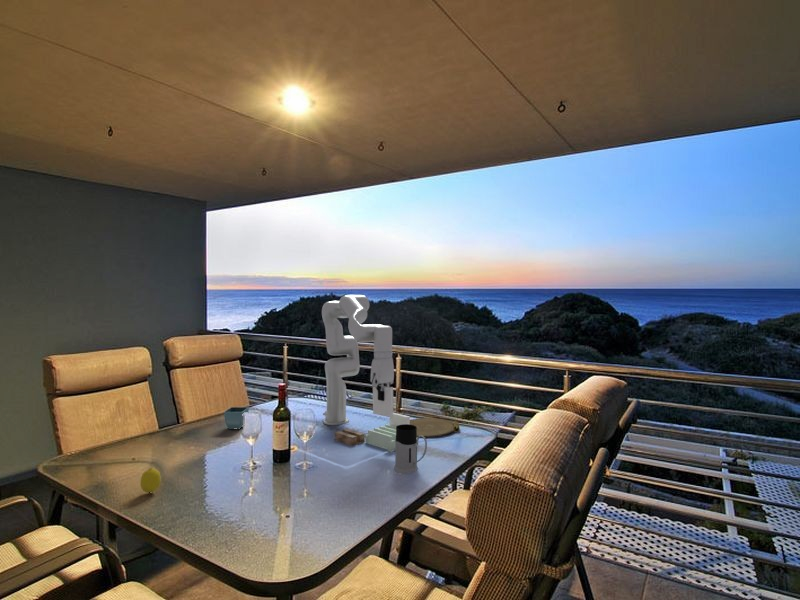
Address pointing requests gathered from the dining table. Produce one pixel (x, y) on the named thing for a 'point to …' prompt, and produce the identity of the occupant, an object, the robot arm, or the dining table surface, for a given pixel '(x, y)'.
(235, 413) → the flower pot
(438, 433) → the decorative disc
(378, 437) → the rack
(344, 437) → the stand
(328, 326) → the robot arm
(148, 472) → the lemon
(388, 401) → the tall white panel
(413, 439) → the grey black mug
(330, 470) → the dining table surface
